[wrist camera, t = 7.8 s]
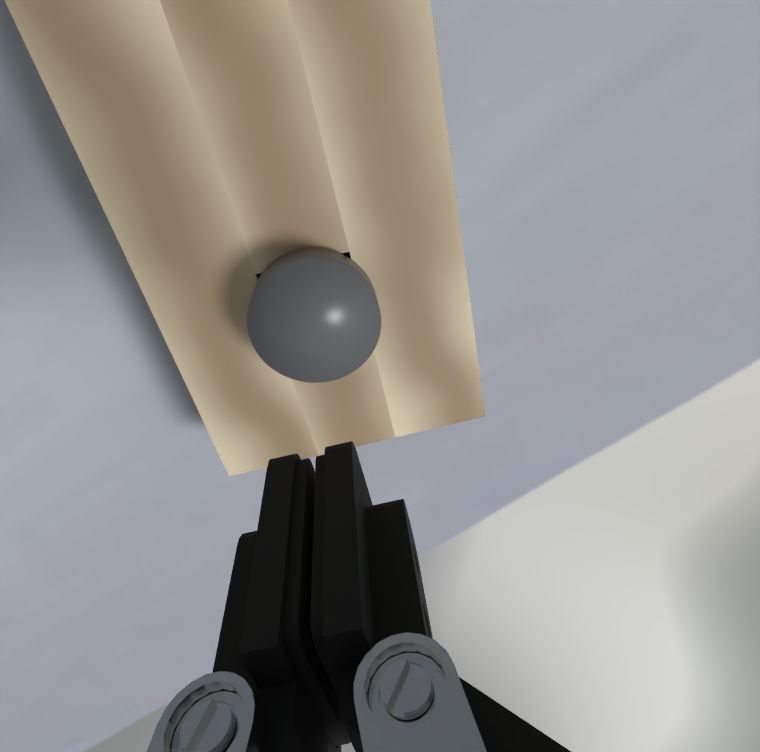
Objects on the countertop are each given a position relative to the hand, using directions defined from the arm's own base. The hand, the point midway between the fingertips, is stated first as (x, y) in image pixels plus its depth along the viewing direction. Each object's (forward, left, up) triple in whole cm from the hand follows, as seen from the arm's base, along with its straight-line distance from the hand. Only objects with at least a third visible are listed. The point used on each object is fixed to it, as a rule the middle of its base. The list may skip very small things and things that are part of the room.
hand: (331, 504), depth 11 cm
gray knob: (0, 0, -15) cm, 15 cm away
